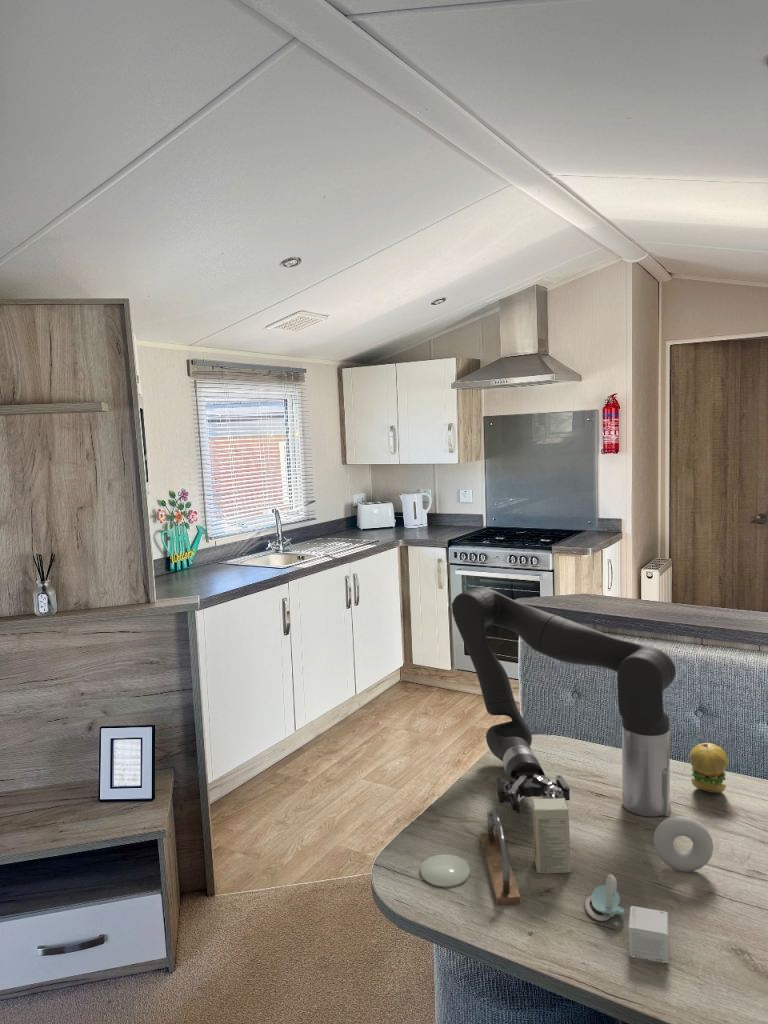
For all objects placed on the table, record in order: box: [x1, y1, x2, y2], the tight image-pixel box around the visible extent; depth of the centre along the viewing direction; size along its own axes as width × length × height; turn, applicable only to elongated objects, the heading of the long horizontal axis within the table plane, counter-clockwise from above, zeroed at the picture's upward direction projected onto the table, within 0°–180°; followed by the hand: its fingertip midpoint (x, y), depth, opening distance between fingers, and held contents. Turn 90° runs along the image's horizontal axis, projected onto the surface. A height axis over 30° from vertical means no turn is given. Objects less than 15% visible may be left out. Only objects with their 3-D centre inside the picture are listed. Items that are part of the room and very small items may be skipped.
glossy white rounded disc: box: [420, 854, 471, 888], centre depth 135 cm, size 9×9×1 cm
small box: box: [628, 905, 670, 965], centre depth 113 cm, size 6×6×5 cm
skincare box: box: [531, 797, 572, 874], centre depth 135 cm, size 6×4×12 cm
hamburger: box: [689, 742, 729, 794], centre depth 158 cm, size 8×7×12 cm
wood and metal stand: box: [478, 808, 522, 906], centre depth 135 cm, size 20×4×10 cm, turn 1°
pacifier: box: [584, 873, 625, 922], centre depth 122 cm, size 7×6×6 cm
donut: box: [653, 815, 714, 873], centre depth 132 cm, size 10×3×10 cm, turn 74°
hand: (539, 807), depth 143 cm, fingers open, 8 cm apart
